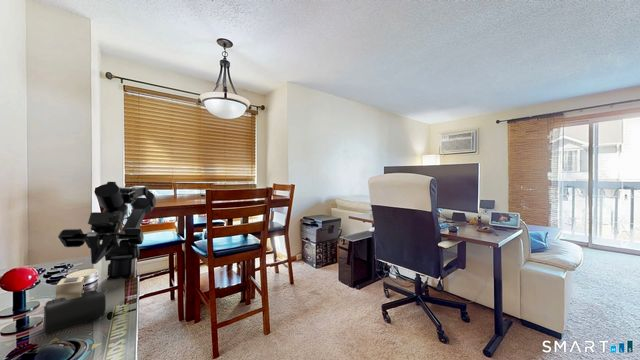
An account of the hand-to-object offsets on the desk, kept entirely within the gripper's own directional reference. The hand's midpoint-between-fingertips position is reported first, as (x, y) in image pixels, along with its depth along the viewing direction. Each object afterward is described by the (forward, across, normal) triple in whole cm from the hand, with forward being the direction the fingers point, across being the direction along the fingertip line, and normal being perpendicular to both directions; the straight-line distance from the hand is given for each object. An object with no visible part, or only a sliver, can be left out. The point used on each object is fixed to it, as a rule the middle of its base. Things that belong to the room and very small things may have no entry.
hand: (93, 263), depth 67 cm
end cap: (+15, 0, +2) cm, 15 cm away
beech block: (+3, -8, +14) cm, 16 cm away
